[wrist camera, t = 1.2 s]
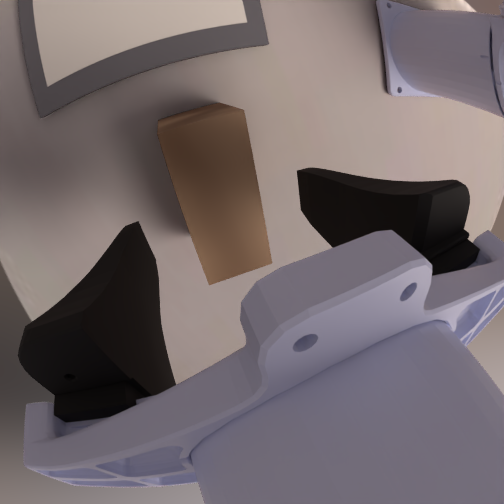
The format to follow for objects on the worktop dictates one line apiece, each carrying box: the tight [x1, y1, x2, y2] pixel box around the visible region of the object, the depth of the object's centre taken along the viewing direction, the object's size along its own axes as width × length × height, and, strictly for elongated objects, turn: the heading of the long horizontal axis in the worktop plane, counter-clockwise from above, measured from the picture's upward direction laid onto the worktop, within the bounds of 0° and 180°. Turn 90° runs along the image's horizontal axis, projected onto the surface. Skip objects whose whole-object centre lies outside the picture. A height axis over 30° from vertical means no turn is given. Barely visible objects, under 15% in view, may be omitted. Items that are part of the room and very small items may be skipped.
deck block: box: [157, 103, 272, 285], centre depth 14 cm, size 4×8×5 cm, turn 10°
